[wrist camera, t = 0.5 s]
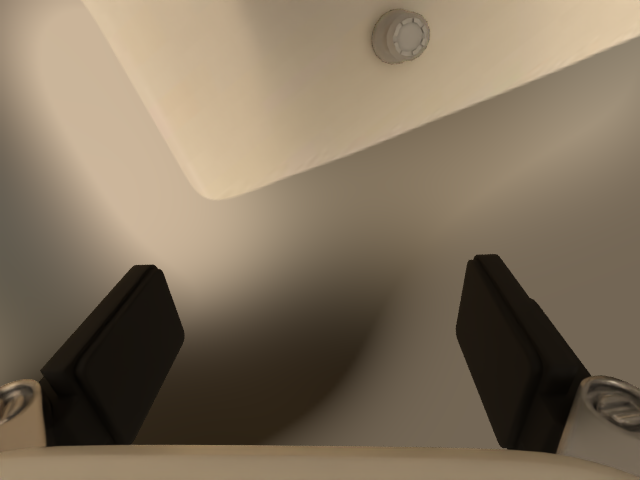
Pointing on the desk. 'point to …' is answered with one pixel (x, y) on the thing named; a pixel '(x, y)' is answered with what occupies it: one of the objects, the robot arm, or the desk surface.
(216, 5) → the desk surface
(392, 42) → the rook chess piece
